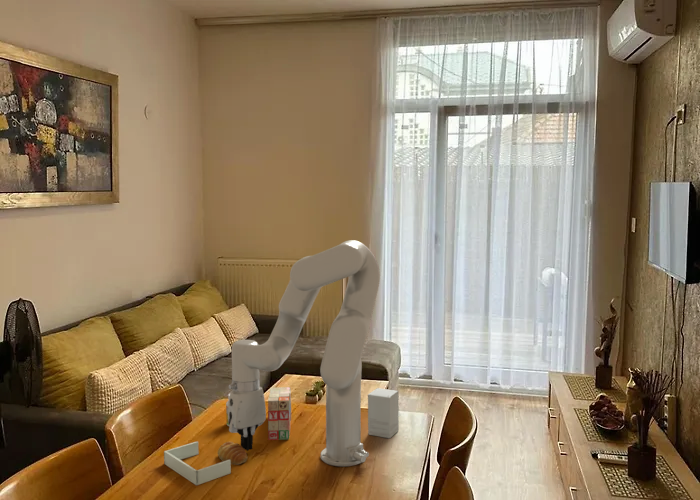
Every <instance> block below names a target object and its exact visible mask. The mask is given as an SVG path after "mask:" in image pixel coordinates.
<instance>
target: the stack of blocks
mask: <svg viewBox="0 0 700 500" xmlns="http://www.w3.org/2000/svg"><path fill="white" fill-rule="evenodd" d="M267 421H268V427H267V429H268V430H267V431H268V432H267V440H268V441H278V440H286V441H287V440H290V435H291V421H292V395H291V387H290V386H286V387H270V388H269V394H268V398H267Z"/></svg>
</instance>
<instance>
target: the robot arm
mask: <svg viewBox="0 0 700 500" xmlns="http://www.w3.org/2000/svg"><path fill="white" fill-rule="evenodd" d="M290 268H291V269H290V272H289V279H290V280H289V281H288V283H287V286H286V288H285V291H284V292H283V294H282V297H281V298H280V301H279V303H278V311H279V313H278V317H277V320H276V323H275V325H274V327H273V329H272V331H271V333H270V336H269V337H268V340H266V341H265V342H264V343H262V344H259V343H258V342H257V341H256V340H254V339H241V340H236V341H234V342H233V343H232V346H231V379H232V380H231V384H229V385H228V389H229V390H230V392H229V394H230V397H229V399H228V401H229V404H228V424H229V425H230V427H229V426H228V427H229V428H228V431H229V432H230V433H232V434H233V433H234V434H236V433H237V434H239V435H240V445H241V446H242V447H243V448H244V449H245V451H251V450H253V444H254V435H255V434H256V430H257V428H258V427H260V426H261V425H263V424H264V422H265V421H267V420H266V418H267V412H266V411H267V409H266V400H265V393H264V390H263V387H262V386H260V385H261V384H260V370H261V371H265V372H273V371H276V370H279V368H280V367H281V366H282V365H283V364H284V362H285V361H286V360H287V359H288V358H289V356H290V355H291V352H292V351H293V349H294V347H295V345H296V343H297V340H298V338H299V337H300V333H301V331H302V329H303V328H304V324H305V323H306V321H307V319H308V316H309V314H310V311H311V309H312V308H313V305H314V303H315V300H316V299H317V297H318V295H319V293H320V291H321V288H322V287H325V286H328V285H330V284H333V283H335V282H339V281H340V280H344V279H346V278H348V280H347V285H346V288H345V291H344V296H343V300H342V304H341V307H340V310H339V313H338V314H337V316H336V317H335V318H334V320H333V322H332V323H331V326H330V329H329V332H328V336H327V340H326V345H325V347H324V351H323V356H322V359H321V364H320V367H319V369H320V377H321V379H322V381H323V383H324V385H325V389H326V390H325V439H326V440H325V446H326V447H325V448H324V449H323V450H321V452H320V460H321V461H323V462H324V463H325V464H327V465H329V466H333V467H334V466H335V467H351V466H352V467H353V466H356V465H359V464H361V463H365V462H366V460H367V458H368V457H369V455H370V453H369V452H368V451H366V450H365V449H364V443H362V442H361V441H362V440H361V438H362V437H361V436H362V435H361V433H362V430H361V429H362V427H361V423H362V422H361V411H362V410H361V406H362V405H361V402H362V397H361V396H362V369H363V367H362V366H363V364H362V355H363V352H364V348H365V344H366V340H367V337H368V335H369V332H370V327H371V321H372V316H373V313H374V309H375V305H376V299H377V296H378V295H377V294H378V291H379V286H380V279H381V278H380V276H381V275H380V267H379V264H378V260H377V259H376V256H375V255H374V253H373V252H372V250H370V249H369V247H368V246H366V245H365V244H364V243H363V242H360V241H358V240H357V239H356V240H354V239H353V240H352V239H351V240H350V239H349V240H345V241H343V242H341V243H340V244H338V245H335V246H333V247H331V248H327V249H325V250H323V251H320V252H318V253H315V254H313V255H307V256H304V257H302V258H300V259H298V260H297V261H296V262H294V263H293V265H292V266H291V267H290Z"/></svg>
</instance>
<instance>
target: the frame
mask: <svg viewBox="0 0 700 500" xmlns="http://www.w3.org/2000/svg"><path fill="white" fill-rule="evenodd" d="M197 455H199V441H194V442H190V443H187V444H184V445H180V446H177V447H174V448H171V449H168V450H164V451H163V460H164V463H163V464H164V465H166V466H167V467H168V468H170V469H171V470H173V472H176V473H177V474H179V475H180V476H181V477H183V478H185V479H186V480H188V481H189V482H191V483H192V484H193V485H195V486H199V485H201V484H204V483H207V482H211V481H212V480H215V479H217V478H218V479H219V478H221V477H224V476H227V475H229V474H231V472H232V471H231V470H232V467H231V465H232V464H231V460H226V461H221V462H217V463H215V464H212V465H209V466H205V467H202V468H200V469H195V468H194V467H192V466H191V465H190V464H188V463H186V462H184V461H183V460H184V459H188V458H191V457H194V456H197Z"/></svg>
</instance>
